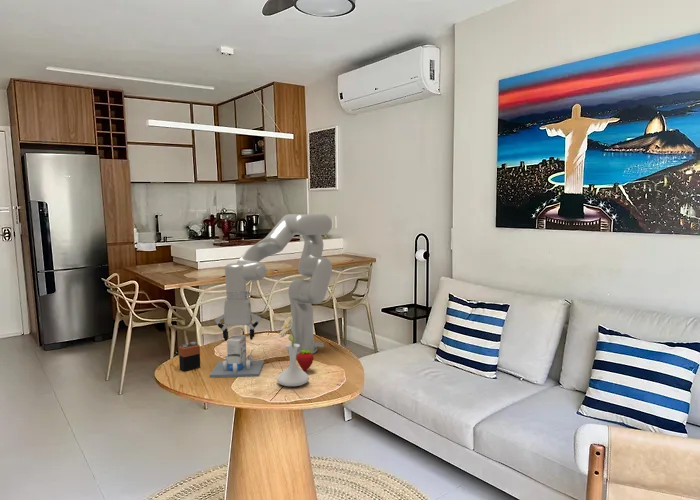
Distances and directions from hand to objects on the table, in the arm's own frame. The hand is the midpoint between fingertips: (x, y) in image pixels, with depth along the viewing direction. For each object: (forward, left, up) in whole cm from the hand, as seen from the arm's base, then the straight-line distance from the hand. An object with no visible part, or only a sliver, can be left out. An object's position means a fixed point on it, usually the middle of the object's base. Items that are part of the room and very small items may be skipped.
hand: (239, 339), depth 185 cm
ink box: (+1, 0, -11) cm, 11 cm away
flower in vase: (-21, +18, -12) cm, 30 cm away
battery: (+20, -2, -12) cm, 23 cm away
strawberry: (-25, +5, -12) cm, 28 cm away
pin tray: (+1, +1, -12) cm, 12 cm away
